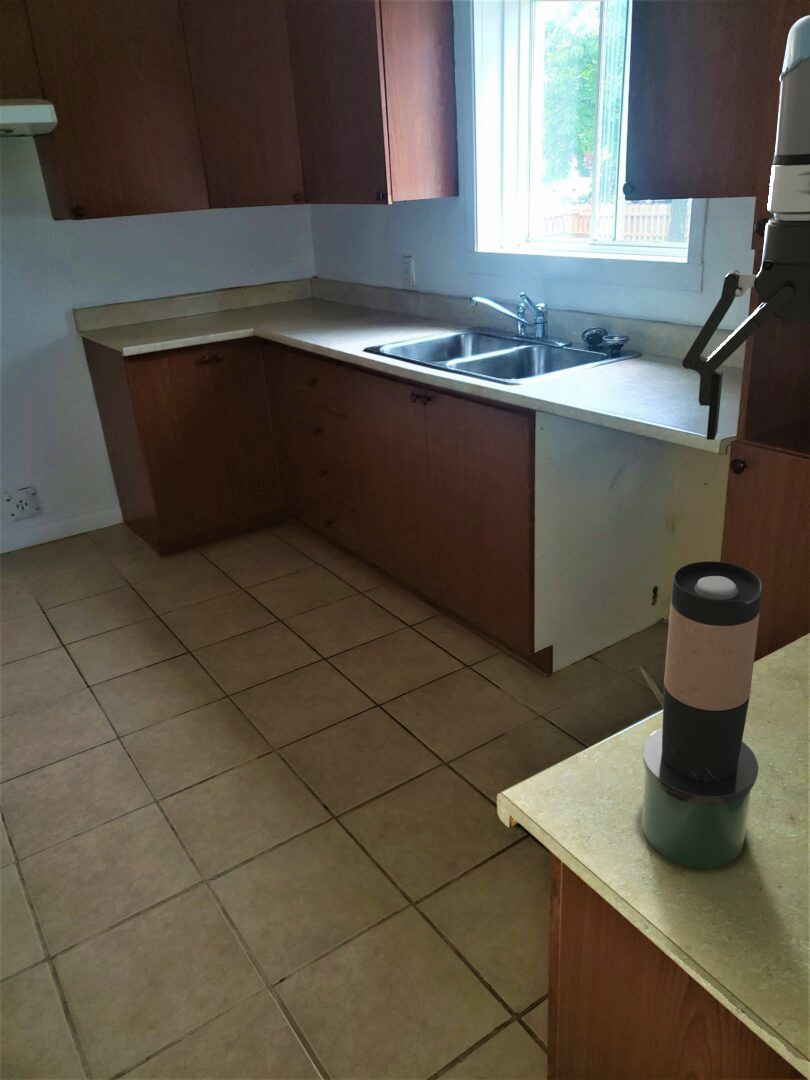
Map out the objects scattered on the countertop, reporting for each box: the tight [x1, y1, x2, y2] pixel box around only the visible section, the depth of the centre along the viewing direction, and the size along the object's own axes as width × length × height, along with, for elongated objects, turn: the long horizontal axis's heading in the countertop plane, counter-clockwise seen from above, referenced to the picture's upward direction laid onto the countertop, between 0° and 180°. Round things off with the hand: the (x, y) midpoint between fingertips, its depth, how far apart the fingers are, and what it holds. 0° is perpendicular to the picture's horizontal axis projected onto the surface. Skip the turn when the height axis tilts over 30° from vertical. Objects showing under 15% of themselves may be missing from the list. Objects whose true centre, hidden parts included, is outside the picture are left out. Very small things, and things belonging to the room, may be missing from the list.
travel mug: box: [661, 560, 763, 782], centre depth 76 cm, size 8×8×20 cm
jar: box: [641, 727, 759, 869], centre depth 83 cm, size 11×11×10 cm
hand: (783, 440), depth 82 cm, fingers open, 13 cm apart
